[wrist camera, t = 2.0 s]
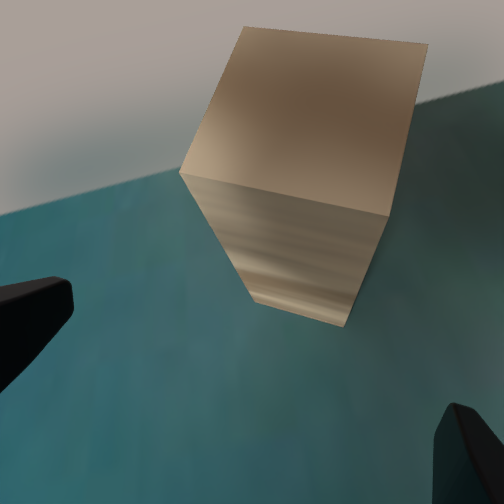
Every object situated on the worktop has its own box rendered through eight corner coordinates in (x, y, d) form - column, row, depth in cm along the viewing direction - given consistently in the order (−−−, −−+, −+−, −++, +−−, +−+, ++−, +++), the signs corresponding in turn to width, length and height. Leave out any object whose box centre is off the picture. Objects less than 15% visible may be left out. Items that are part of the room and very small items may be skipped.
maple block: (343, 327, 20) (388, 216, 8) (254, 301, 21) (179, 172, 9) (364, 243, 21) (428, 44, 9) (280, 224, 23) (243, 26, 11)
